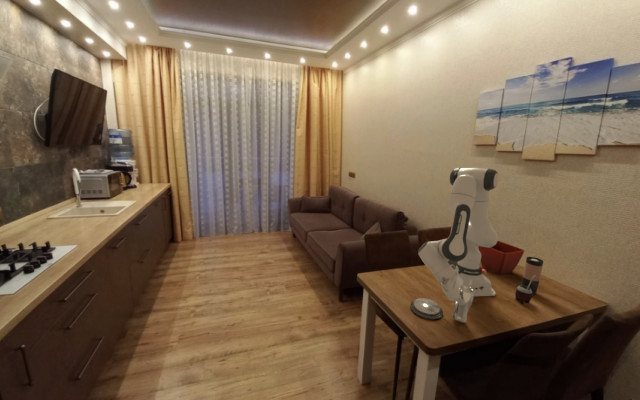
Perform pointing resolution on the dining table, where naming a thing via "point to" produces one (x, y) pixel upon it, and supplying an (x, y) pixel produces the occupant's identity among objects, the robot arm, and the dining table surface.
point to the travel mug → (532, 273)
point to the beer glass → (462, 310)
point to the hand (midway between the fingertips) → (465, 300)
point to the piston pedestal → (426, 309)
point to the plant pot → (500, 257)
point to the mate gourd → (524, 293)
